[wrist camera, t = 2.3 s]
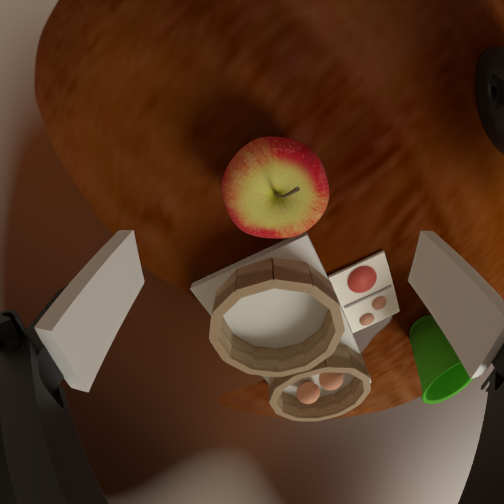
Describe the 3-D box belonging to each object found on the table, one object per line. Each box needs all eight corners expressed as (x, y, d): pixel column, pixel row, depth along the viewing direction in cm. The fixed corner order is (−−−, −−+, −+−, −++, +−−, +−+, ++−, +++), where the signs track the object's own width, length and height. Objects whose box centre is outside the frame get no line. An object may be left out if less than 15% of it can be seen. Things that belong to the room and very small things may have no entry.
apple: (333, 170, 26) (370, 201, 17) (277, 232, 29) (285, 289, 20) (266, 114, 23) (271, 113, 15) (211, 184, 27) (187, 222, 18)
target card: (327, 275, 31) (328, 278, 31) (382, 250, 29) (384, 252, 29) (351, 331, 35) (352, 333, 35) (398, 309, 33) (400, 312, 33)
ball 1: (307, 374, 38) (310, 393, 34) (323, 381, 38) (326, 400, 35) (290, 385, 39) (292, 403, 36) (306, 392, 40) (308, 410, 37)
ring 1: (270, 233, 28) (271, 252, 24) (358, 304, 31) (368, 327, 28) (192, 316, 33) (185, 339, 29) (278, 366, 37) (280, 389, 33)
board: (192, 283, 32) (189, 289, 31) (305, 230, 29) (307, 235, 28) (292, 404, 43) (293, 409, 42) (369, 377, 40) (371, 382, 39)
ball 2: (330, 358, 36) (335, 377, 33) (345, 366, 37) (350, 385, 34) (312, 371, 37) (315, 390, 34) (327, 378, 38) (331, 397, 35)
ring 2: (322, 329, 33) (328, 352, 30) (380, 367, 37) (387, 387, 34) (250, 381, 39) (249, 403, 35) (313, 408, 42) (316, 427, 39)
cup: (388, 351, 37) (410, 409, 27) (410, 303, 33) (445, 363, 23) (432, 347, 37) (457, 397, 27) (455, 303, 33) (491, 353, 23)
